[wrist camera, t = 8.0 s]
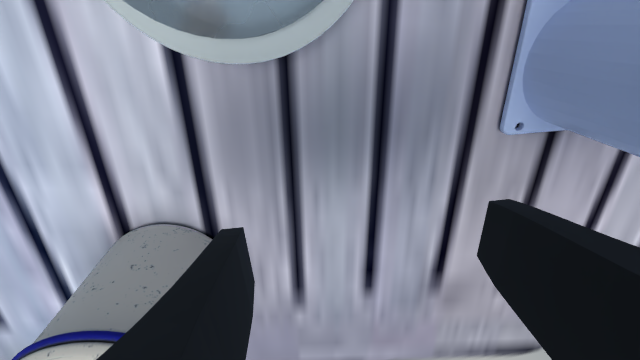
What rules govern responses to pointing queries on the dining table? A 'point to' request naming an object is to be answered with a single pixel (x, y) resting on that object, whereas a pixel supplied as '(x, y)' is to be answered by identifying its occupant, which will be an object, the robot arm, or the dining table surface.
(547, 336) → the robot arm
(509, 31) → the dining table surface
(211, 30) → the lid
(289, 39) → the pot
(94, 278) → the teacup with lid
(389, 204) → the dining table surface
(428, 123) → the dining table surface
